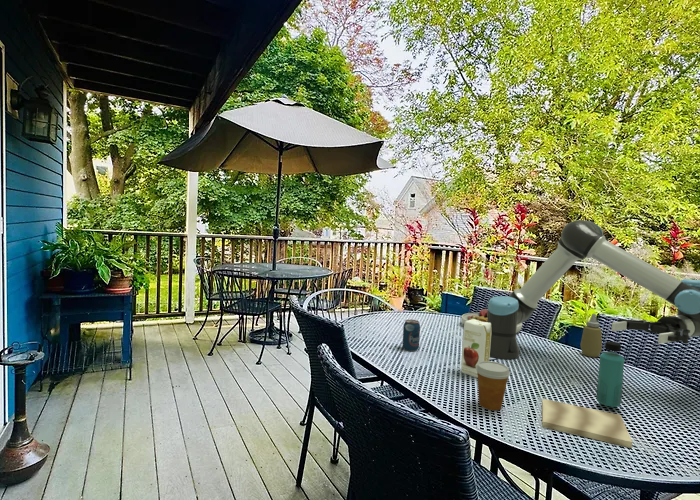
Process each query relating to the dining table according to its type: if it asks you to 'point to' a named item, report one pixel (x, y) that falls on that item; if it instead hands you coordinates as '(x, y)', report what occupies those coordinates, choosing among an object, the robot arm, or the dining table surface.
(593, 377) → the dining table surface
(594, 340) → the squeeze bottle
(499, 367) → the disposable coffee cup
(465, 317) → the bowl
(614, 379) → the beverage bottle
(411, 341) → the soda can
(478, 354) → the juice carton
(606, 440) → the birch board
